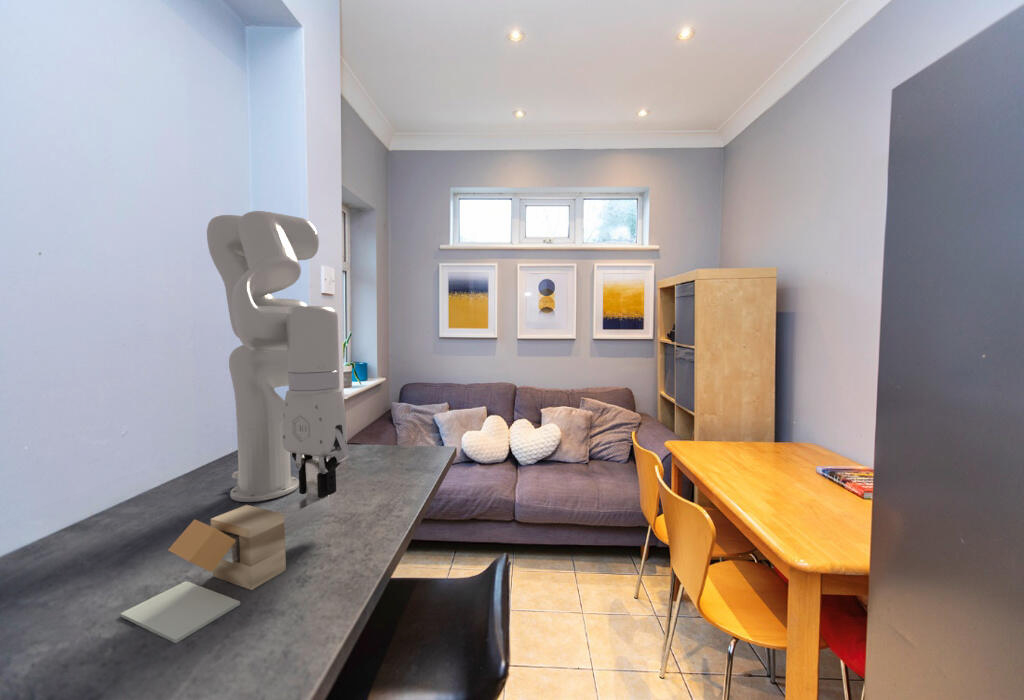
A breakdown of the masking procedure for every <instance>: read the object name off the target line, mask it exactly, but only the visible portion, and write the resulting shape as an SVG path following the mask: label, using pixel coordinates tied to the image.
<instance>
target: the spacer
mask: <svg viewBox="0 0 1024 700" xmlns="http://www.w3.org/2000/svg"><path fill="white" fill-rule="evenodd" d="M235 541H236V540H235V539H233V538H231V537H229V536H228V535H226V534H224V533H222V532H221V531H219V530H217V529H215V528H213V527H211V525H209V524H206V523H204V522H202V521H199V520H198V519H193V520H192V522H190V524H189V525H188V526H187V527H186V529H185V530H184V531H183V532H182V533H181V534H180V535H179V536H178V538H177V539H176V540H175V541H174V543H172V545H171V546H170V547H169V548H168V552H171V553H172V554H174V555H176V556H178V557H180V558H182V559H184V561H185V560H186V561H187V562H189V563H192V564H194V565H195V566H198V567H200V568H202V569H204V570H207V571H208V572H210V573H213V570H214V569H215V567H216V566H217V565H218V563H219V562H220V561H221V560H222V558H223V557H224V556H225V554H226V553H227V552H228V550H229V549H230V548H231V547H232V545H233V544H234V543H235Z"/></svg>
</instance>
